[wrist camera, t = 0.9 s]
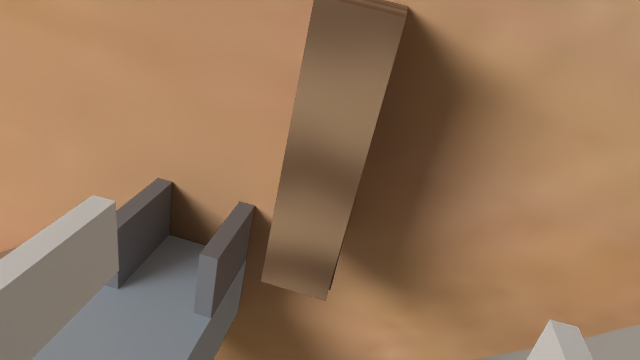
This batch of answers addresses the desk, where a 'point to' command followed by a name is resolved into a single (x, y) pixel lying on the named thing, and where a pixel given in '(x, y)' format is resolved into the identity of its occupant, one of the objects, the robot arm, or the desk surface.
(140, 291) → the gray block with ears
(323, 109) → the rail
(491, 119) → the desk surface
